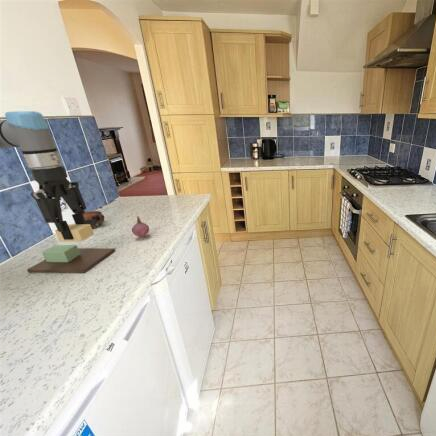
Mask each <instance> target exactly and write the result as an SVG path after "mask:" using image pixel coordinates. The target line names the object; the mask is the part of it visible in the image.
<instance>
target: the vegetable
mask: <svg viewBox="0 0 436 436" xmlns="http://www.w3.org/2000/svg"><path fill="white" fill-rule="evenodd" d="M136 220H137V221H136V223H135V224H134V225H133V226H132V227H131V232H132V234H133V235H134V236H135V237H138V238H139V237H140V238H145V237H146V235H148V234H149V232H150V226H149V225H148V224H147V223H145V222H142V221H141V218H140V216H139V215H136Z"/></svg>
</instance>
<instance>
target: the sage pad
mask: <svg viewBox="0 0 436 436" xmlns="http://www.w3.org/2000/svg"><path fill="white" fill-rule="evenodd" d="M78 248H79V247H78V246H77V244H54V245H52V246H51V247H49V248H47V249H46V250H43V251H42V252H41V253H42V255H43V258H44V260H45V259H46V261H47V262H69V261H71V260H73V259H74V258H76V257H77V256H79V255H80V252H79V250H78Z"/></svg>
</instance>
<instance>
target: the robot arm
mask: <svg viewBox="0 0 436 436" xmlns="http://www.w3.org/2000/svg"><path fill="white" fill-rule="evenodd" d="M4 116H5V119H0V149H6V148H19V149H20V150H21V153H22V155H23V158H24V160H25V162H26V164H27V167H28V168H31V170H30V172H31V175H32V177H33V179H34V181H35V182H36V183H37V184H38V190H36V191H35V192H31V193H30V196H31V197H32V198H33V199H34V200H35V202H36V204H37V207H38V209H39V210H40V213H41V215H42V217H43V219H44V222H45V223H46V224H54V226H55V228H56V230H58V231H59V232H61V234H62V236H63V238H64V240H72V239H74V238H73V236H72V233H71V231H70V229H69V226H68V224H69V223H68V222H67V220H64V219H63V212H62V207H61V200H62V199H63V201H64V202H65V203H66V205H67V206H68V207H69V209H70V211H72V213H73V214H71V217H72V219H73V222H74V224H85V222H84V221H85V219H84V216H83V214H82V213H85V212H86V210H87V205H86V204H85V203H86V202H85V201H84V198H83V195H82V194H81V191H80V189H79V188H80V187H79V182H78V181H69V179H68V173H67V170H66V168H65V166H63V165H62V164H63V161H62V158H61V156H60V154H59V151H58V149H57V146H56V144H55V141H54V138H53V136H52V133H51V130H50V127H49V125H48V124H47V121H46V120H45V117H44V115H43V114H42V113H41V112H39V111H35V110H34V111H33V110H32V111H31V110H27V111H26V110H21V111H20V110H17V111H14V110H13V111H6V112H5V113H4Z"/></svg>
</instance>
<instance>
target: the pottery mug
mask: <svg viewBox="0 0 436 436" xmlns="http://www.w3.org/2000/svg"><path fill="white" fill-rule="evenodd" d="M82 214H83V216H84V219H85V221H84V222H85V224H90V225H91V228H92V229H97V228H98V227H97V225H98V226H101V225H103V223H104V222H105V215H104V214H103V212H102V211H99V210H90V211H85V213H82Z"/></svg>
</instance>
